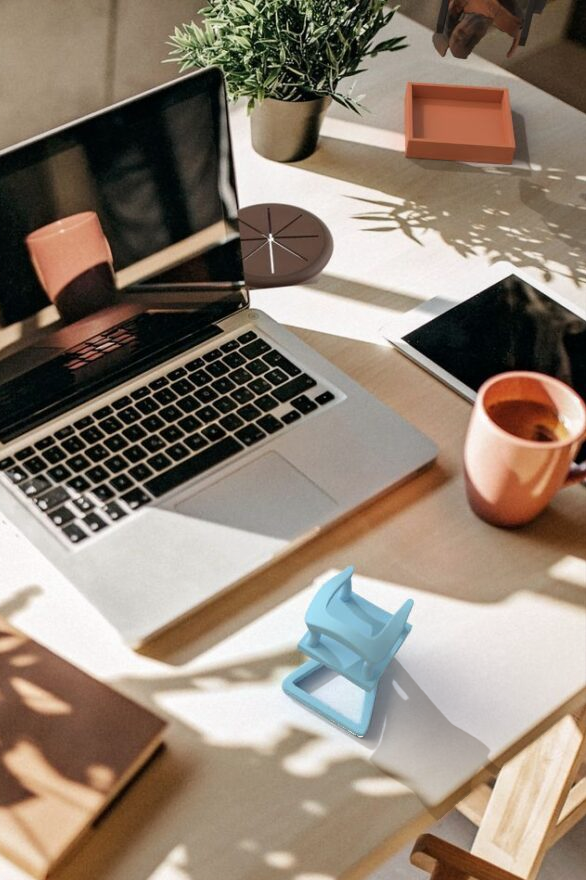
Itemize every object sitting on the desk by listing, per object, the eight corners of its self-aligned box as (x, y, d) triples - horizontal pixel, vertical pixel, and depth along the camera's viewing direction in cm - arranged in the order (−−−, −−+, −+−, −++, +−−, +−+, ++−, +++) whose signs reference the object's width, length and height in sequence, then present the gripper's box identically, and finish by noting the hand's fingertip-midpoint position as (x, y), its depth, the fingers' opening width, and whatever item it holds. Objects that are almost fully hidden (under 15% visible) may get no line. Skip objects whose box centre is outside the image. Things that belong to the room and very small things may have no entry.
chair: (411, 662, 81) (437, 587, 71) (361, 740, 77) (381, 672, 67) (332, 616, 83) (346, 537, 74) (279, 689, 79) (287, 616, 70)
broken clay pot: (436, 23, 119) (483, -37, 114) (492, 77, 120) (542, 20, 115) (411, 45, 111) (460, -19, 105) (472, 102, 112) (524, 42, 106)
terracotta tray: (504, 105, 129) (508, 88, 127) (511, 164, 122) (515, 147, 120) (404, 98, 130) (407, 81, 128) (405, 157, 122) (408, 140, 120)
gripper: (622, -152, 108) (571, 60, 112) (431, -176, 111) (388, 32, 115) (638, -190, 101) (582, 39, 105) (433, -214, 104) (386, 9, 108)
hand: (480, 35), depth 110 cm, fingers closed on broken clay pot, 9 cm apart
